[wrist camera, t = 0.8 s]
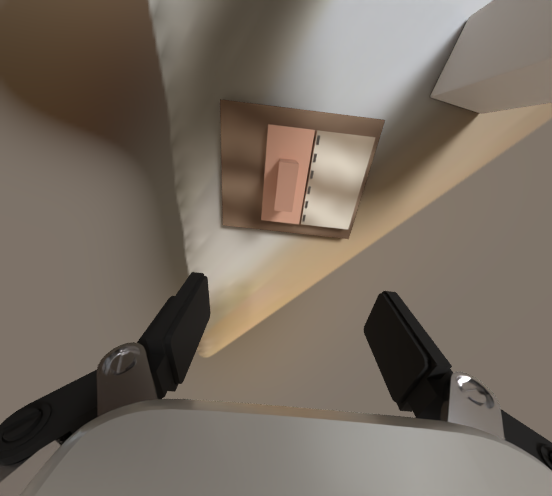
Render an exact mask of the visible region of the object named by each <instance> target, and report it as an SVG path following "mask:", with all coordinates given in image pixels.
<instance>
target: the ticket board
mask: <svg viewBox="0 0 552 496" xmlns="http://www.w3.org/2000/svg"><path fill="white" fill-rule="evenodd" d="M220 117H221V166H222V214H223V225H226V226H235V227H244V228H253V229H262V230H272V231H281V232H290V233H299V234H308V235H317V236H326V237H336V238H345V239H349V236H350V233H351V230H352V227H353V223H354V220H355V217H356V213H357V210H358V207H359V204H360V200H361V197H362V194H363V191H364V187H365V184H366V181H367V178H368V174H369V171H370V168H371V165H372V161H373V158H374V155H375V152H376V148H377V145H378V142H379V139H380V135H381V132H382V129H383V126H384V122H385V120H381V119H373V118H365V117H357V116H349V115H341V114H333V113H325V112H317V111H309V110H301V109H293V108H285V107H277V106H269V105H261V104H253V103H245V102H237V101H229V100H221V99H220ZM268 124H270V125H278V126H287V127H295V128H303V129H311V130H315V133H314V139H313V145H312V151H311V156H310V162H309V168H308V174H307V180H306V186H305V192H304V197H303V203H302V209H301V215H300V221H299V224H292V223H283V222H274V221H265V220H261V214H262V201H263V188H264V174H265V161H266V147H267V134H268Z"/></svg>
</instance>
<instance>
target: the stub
mask: <svg viewBox="0 0 552 496" xmlns="http://www.w3.org/2000/svg"><path fill="white" fill-rule="evenodd" d="M314 133H315V130H311V129H303V128H295V127H287V126H278V125H270V124H268V134H267V147H266V161H265V174H264V188H263V201H262V214H261V220H265V221H274V222H283V223H292V224H299V221H300V215H301V209H302V203H303V197H304V192H305V186H306V180H307V174H308V168H309V162H310V156H311V151H312V145H313V139H314Z"/></svg>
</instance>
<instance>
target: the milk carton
mask: <svg viewBox="0 0 552 496" xmlns="http://www.w3.org/2000/svg"><path fill="white" fill-rule="evenodd" d="M430 97H431V98H434V99H437V100H440V101H443V102H447V103H450V104H453V105H456V106H459V107H462V108H465V109H468V110H471V111H475V112H478V113H489V112H495V111H501V110H508V109H514V108H520V107H527V106H533V105H539V104H546V103H552V0H493V1H492V2H490V3H489V4H487V5H486V6H484V7H483V8H481V9H480V10H479V11H477V12H476V13H474V14H473V15H471V16H470V17H469V19H468V21H467V22H466V24H465V26H464V28H463V30H462V32H461V35H460V37H459V39H458V41H457V43H456V45H455V47H454V49H453V51H452V53H451V55H450V57H449V59H448V61H447V63H446V65H445V67H444V69H443V71H442V73H441V75H440V77H439V79H438V81H437V83H436V85H435V87H434V89H433V91H432V94H431V96H430Z"/></svg>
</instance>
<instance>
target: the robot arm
mask: <svg viewBox="0 0 552 496" xmlns="http://www.w3.org/2000/svg"><path fill="white" fill-rule="evenodd" d="M209 318H210V303H209V291H208V279H207V276H204V274H203V273H195V272H192V273H191V274H190V276H189V277H188V278H187V280H186V282H185V283H184V284H183V286H182V287H181V289H180V290H179V291H178V293H177V294H176V296H171V297H170V298H169V299H168V300H167V302H166V303H165V305H164V306H163V307H162V309H161V310H160V312H159V313H158V314H157V316H156V317H155V319H154V320H153V321H152V323H151V324H150V325H149V327H148V328H147V330H146V331H145V332H144V334H143V335H142V337H141V338H140V339H139V341H138V342H137V343H134V342H133V343H126V344H123V345H120V346H118V347H116V348H114V349H113V350H111V351H110V352H109V353H107V354H106V355H105V356H104V357H103V358H102V360H101V361H100V363H99V365H98V367H97V370H95V371H93V372H91V373H89V374H88V375H85V376H83V377H81V378H79V379H78V380H75V381H74V382H71V383H70V384H67V385H66V386H64V387H62V388H60V389H58V390H56V391H54V392H52V393H50V394H48V395H46V396H44V397H42V398H40V399H38V400H36V401H34V402H32V403H30V404H28V405H26V406H25V407H23V408H21V409H19V410H18V411H16V412H15V413H13V414H12V415H11V416H10V417H8V418H7V419H6V420H5V421H4V422H3V423H2V424H1V425H0V496H552V443H551V442H550V441H548V440H547V439H545V438H544V437H542V436H541V435H539V434H538V433H536V432H535V431H533V430H532V429H530V428H529V427H527V426H526V425H524V424H523V423H521V422H519V421H518V420H516V419H515V418H513V417H512V416H510V415H509V414H507V413H506V412H504V411H503V410H501V409H500V405H499V402H498V400H497V398H496V396H495V395H494V394H493V393H492V391H491V390H490V389H489V388H488V387H487V386H486V385H484V384H483V383H482V382H481V381H479V380H478V379H476V378H475V377H473V376H471V375H469V374H467V373H463V372H455V373H453V372H452V371H451V369H450V368H451V367H452V366H451V364H450V363H449V362H448V360H447V359H446V358H445V356H444V355H443V354H442V353H441V351H440V350H439V348H438V347H437V346H436V345H435V343H434V342H433V340H432V339H431V338H430V337H429V335H428V334H427V332H425V330H424V329H423V327H422V326H421V325H420V323H419V322H418V321H417V319H416V318H415V317H414V315H413V314H412V313H411V312H410V310H409V309H408V307H407V306H406V305H405V303H404V302H403V301H402V299H401V298H400V297H399V296H398V294H397V293H396V292H389V291H383V292H382V293H381V294H379V295H378V298H377V300H376V302H375V304H374V306H373V308H372V311H371V313H370V315H369V317H368V320H367V322H366V324H365V326H364V333H365V336H366V339H367V341H368V343H369V346H370V348H371V350H372V353H373V355H374V357H375V360H376V362H377V364H378V367H379V369H380V371H381V374H382V376H383V378H384V381H385V383H386V385H387V388H388V390H389V392H390V395H391V397H392V399H393V400H394V401H395V402H396V403H397V405H398V407H399V409H400V411H410V412H412V411H413V412H414V414H415V416H416V418H411V417H401V416H390V415H379V414H367V413H357V412H346V411H345V412H344V411H334V410H322V409H311V408H298V407H286V406H273V405H262V404H249V403H236V402H223V401H207V400H191V399H190V400H189V399H162V398H163V397H165V395H166V393H167V391H175V390H176V388H177V386H178V384H181V383H182V382H183V381H184V378H185V376H186V373H187V371H188V369H189V366H190V364H191V362H192V359H193V357H194V354H195V352H196V350H197V347H198V345H199V342H200V340H201V337H202V335H203V333H204V330H205V328H206V325H207V323H208V321H209Z"/></svg>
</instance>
